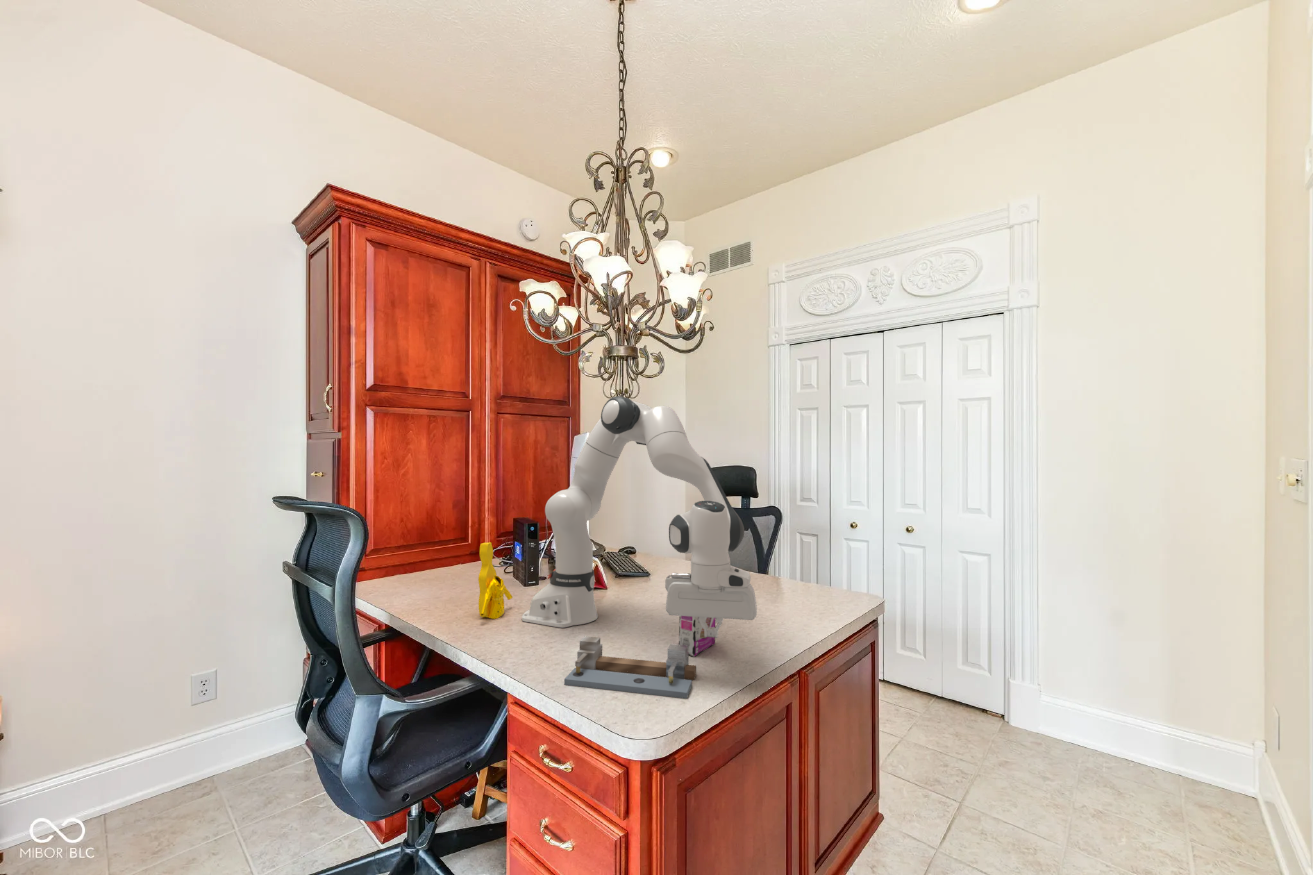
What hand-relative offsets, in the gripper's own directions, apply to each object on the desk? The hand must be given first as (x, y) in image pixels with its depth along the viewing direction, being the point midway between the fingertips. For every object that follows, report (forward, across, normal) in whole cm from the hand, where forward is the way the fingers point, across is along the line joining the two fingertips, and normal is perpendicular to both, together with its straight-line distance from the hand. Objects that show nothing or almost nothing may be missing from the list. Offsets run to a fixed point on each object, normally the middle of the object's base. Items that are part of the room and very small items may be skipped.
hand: (711, 636), depth 120 cm
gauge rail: (+9, -17, -3) cm, 20 cm away
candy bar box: (+9, -6, +17) cm, 20 cm away
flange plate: (+9, -17, -8) cm, 21 cm away
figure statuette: (+8, -70, +28) cm, 76 cm away
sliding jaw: (+9, -8, -3) cm, 12 cm away
